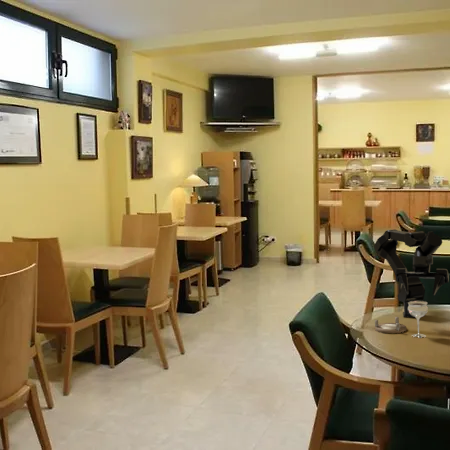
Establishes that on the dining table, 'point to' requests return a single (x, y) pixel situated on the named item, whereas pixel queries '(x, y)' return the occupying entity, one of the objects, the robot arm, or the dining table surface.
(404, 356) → the dining table surface
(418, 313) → the wineglass
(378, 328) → the glass stand
